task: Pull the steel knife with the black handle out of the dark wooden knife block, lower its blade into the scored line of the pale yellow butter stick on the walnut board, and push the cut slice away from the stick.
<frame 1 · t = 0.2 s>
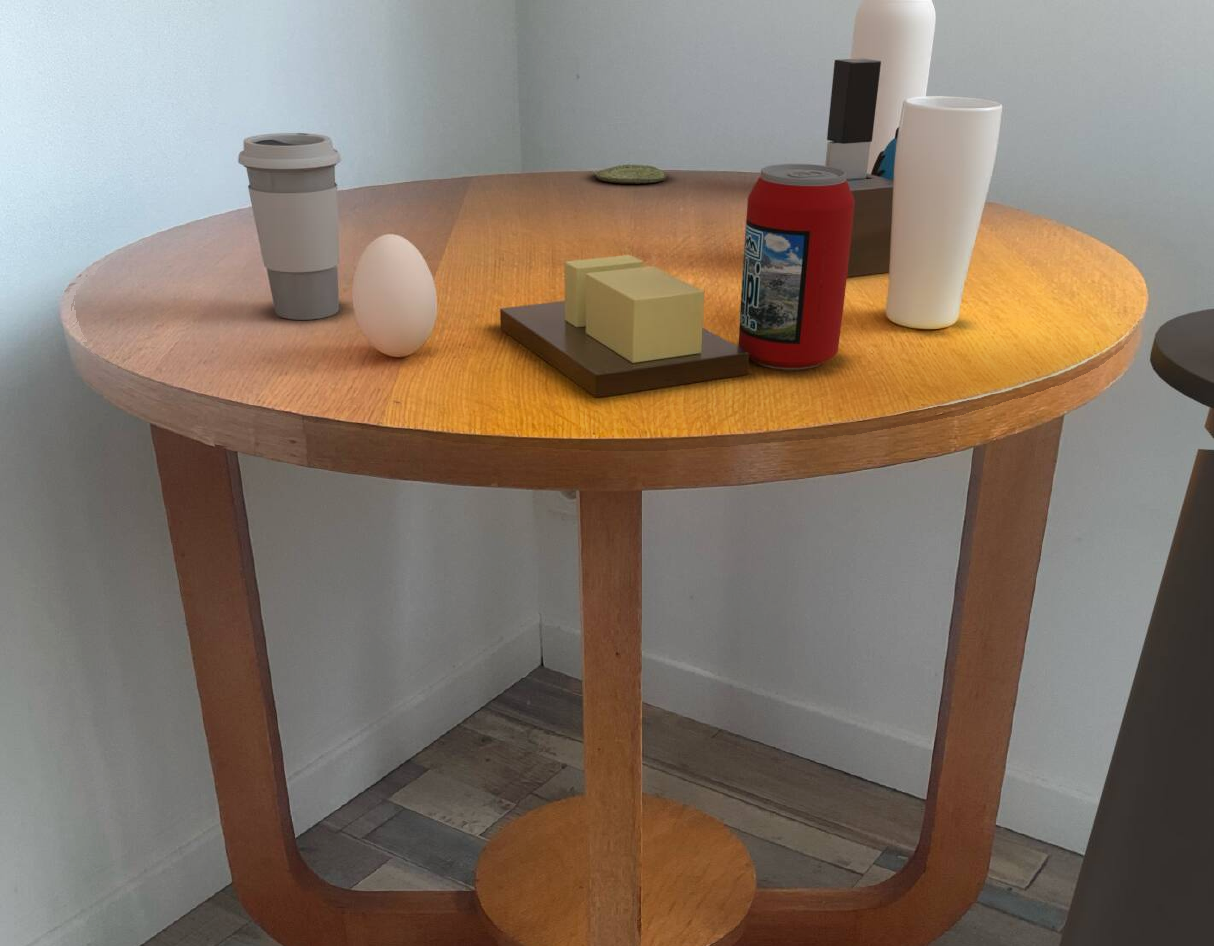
knife block: (836, 264, 104), on the table
medallion: (630, 179, 138), on the table
knife: (846, 166, 100), in the knife block
bottle: (874, 196, 131), on the table
ornament: (884, 245, 112), on the table
drinking glass: (920, 323, 90), on the table
cup: (307, 313, 90), on the table
beverage can: (786, 361, 82), on the table
egg: (399, 358, 81), on the table
board: (618, 350, 83), on the table
butter block: (642, 343, 79), point 1 cm above the table, touching board
butter slice: (603, 319, 84), point 1 cm above the table, touching board
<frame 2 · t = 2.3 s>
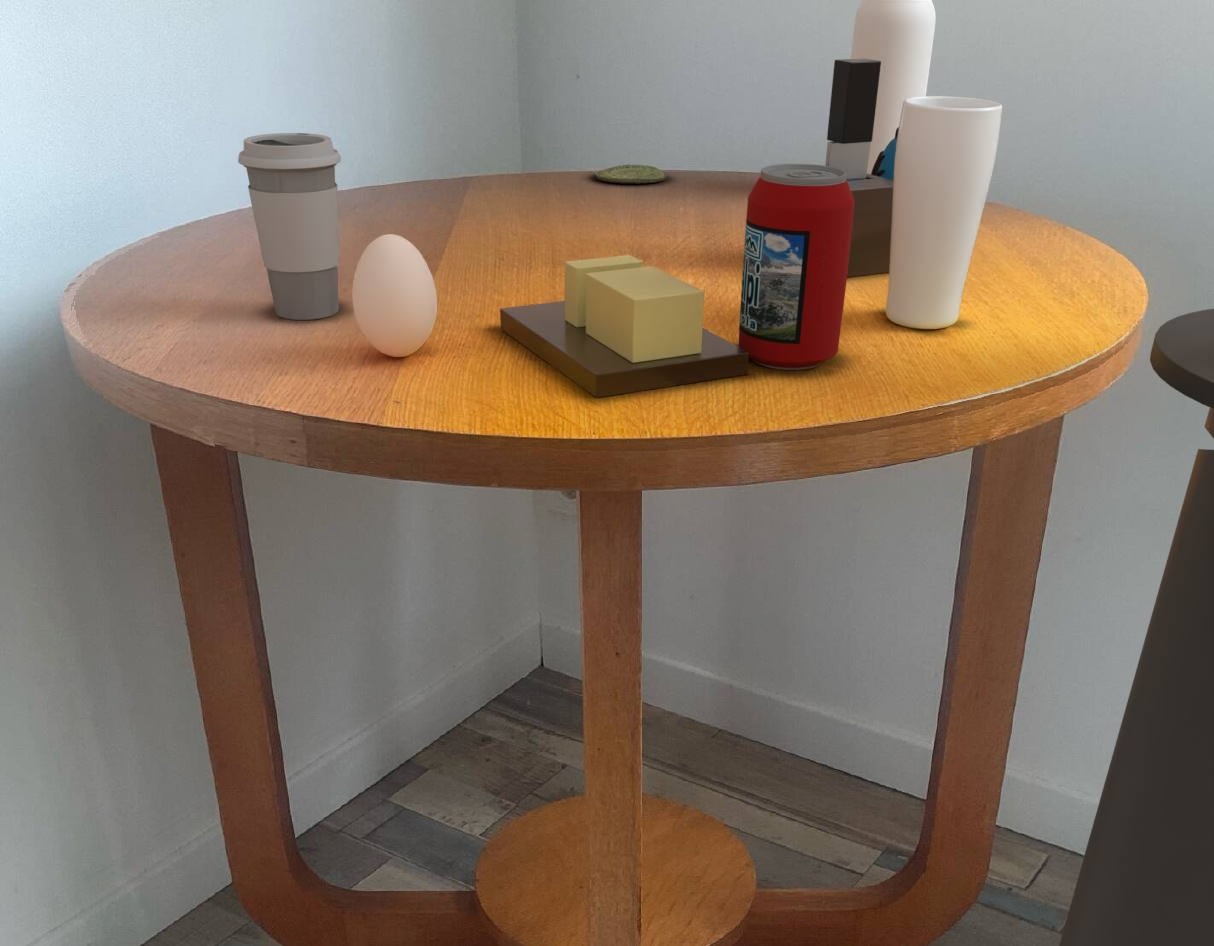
nothing on the table moved.
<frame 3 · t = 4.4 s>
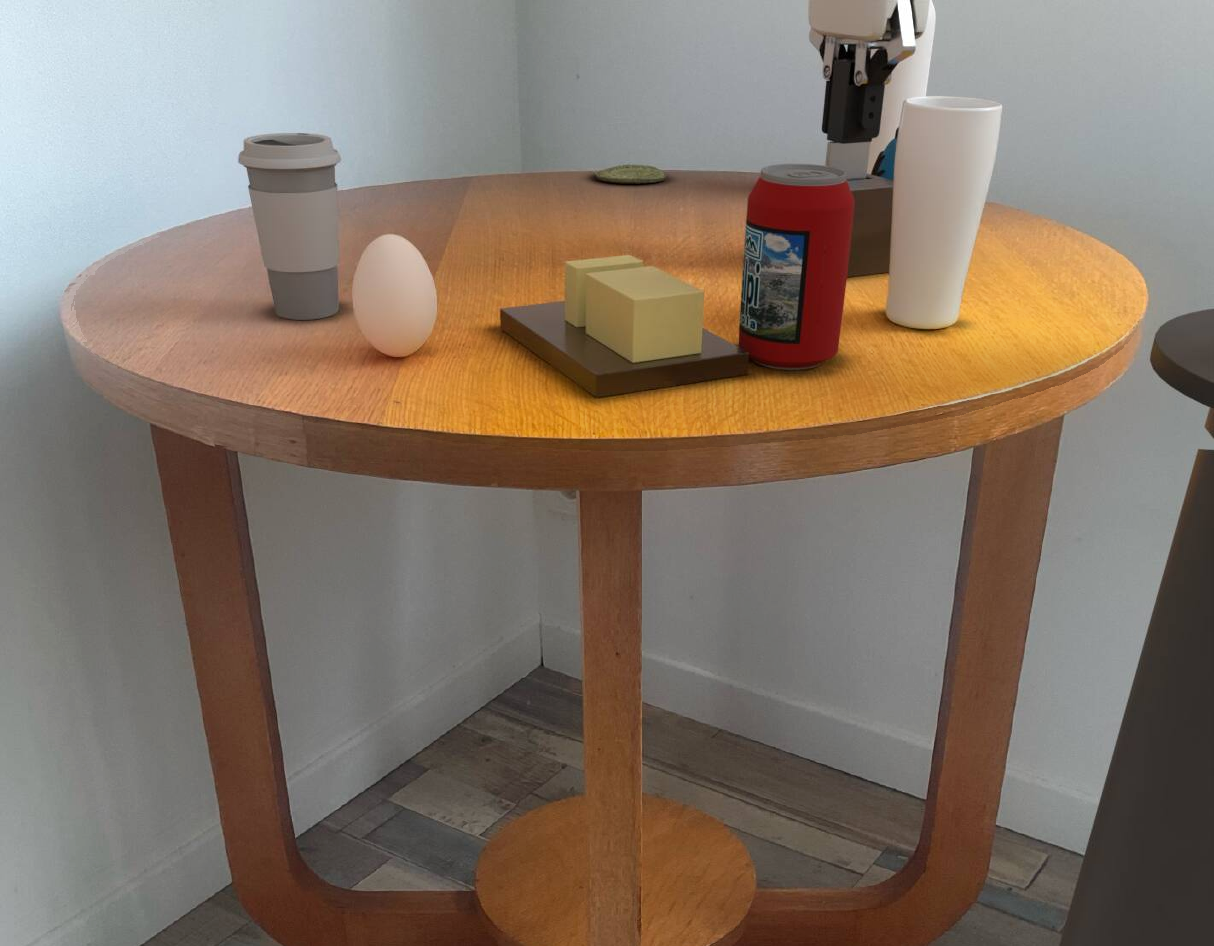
hand: (849, 133, 99), 11 cm above the table, tool pointing down, fingers closed on knife, 2 cm apart
knife: (846, 166, 100), in the knife block, touching gripper
everything else where it was.
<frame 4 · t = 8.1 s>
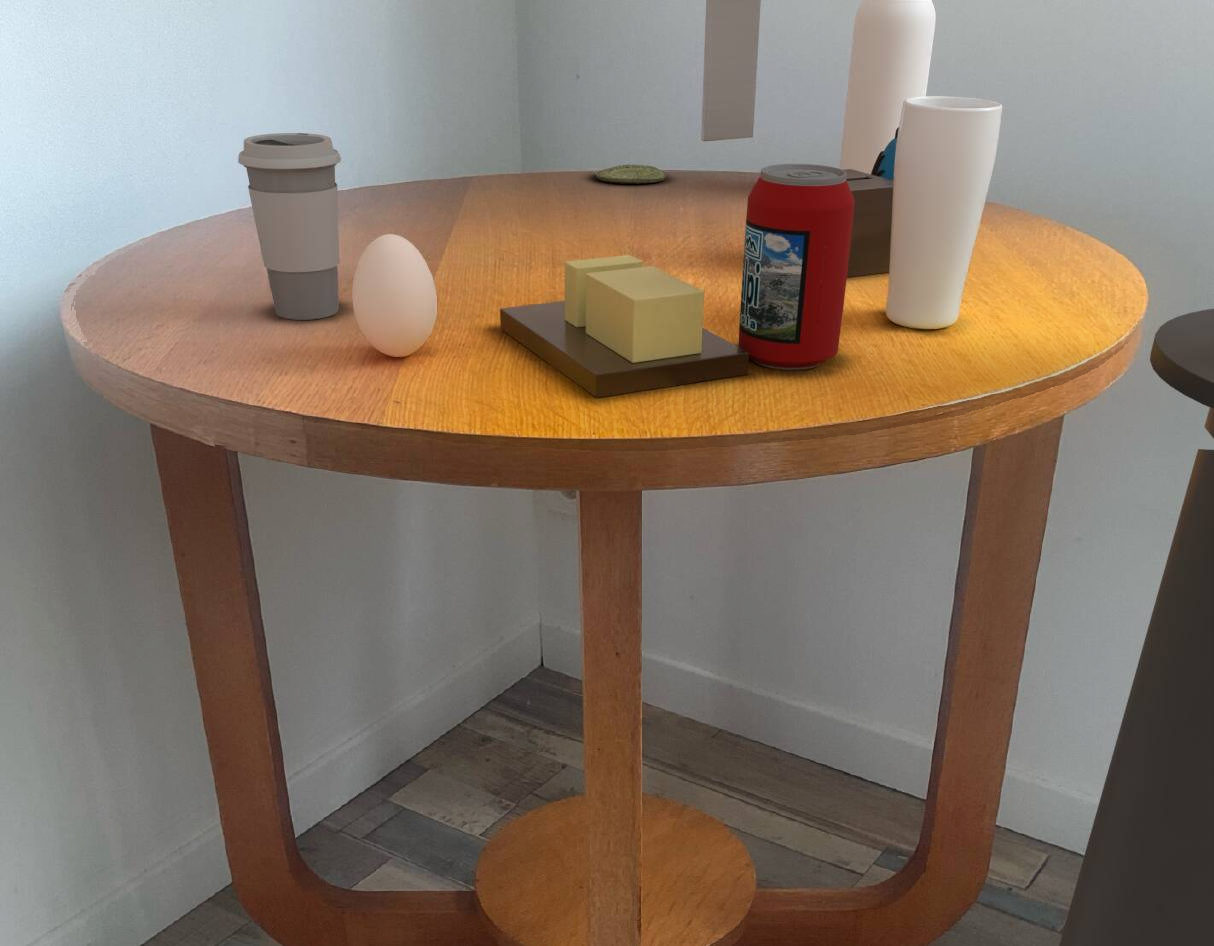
knife: (733, 12, 81), point 20 cm above the table, touching gripper
everything else where it was.
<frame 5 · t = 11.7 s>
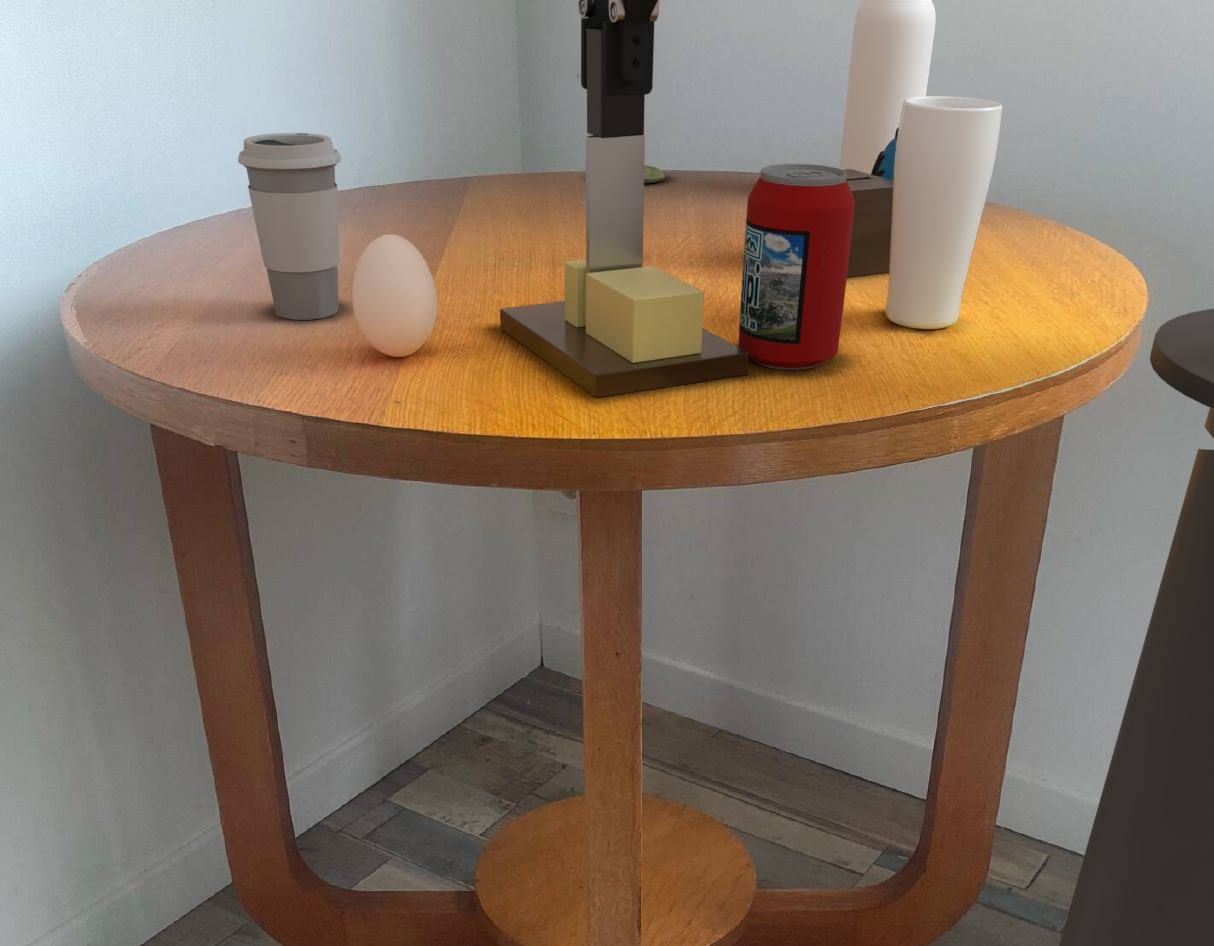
hand: (616, 88, 75), 16 cm above the table, tool pointing down, fingers closed on knife, 2 cm apart
knife: (615, 167, 77), point 12 cm above the table, touching gripper
everything else where it was.
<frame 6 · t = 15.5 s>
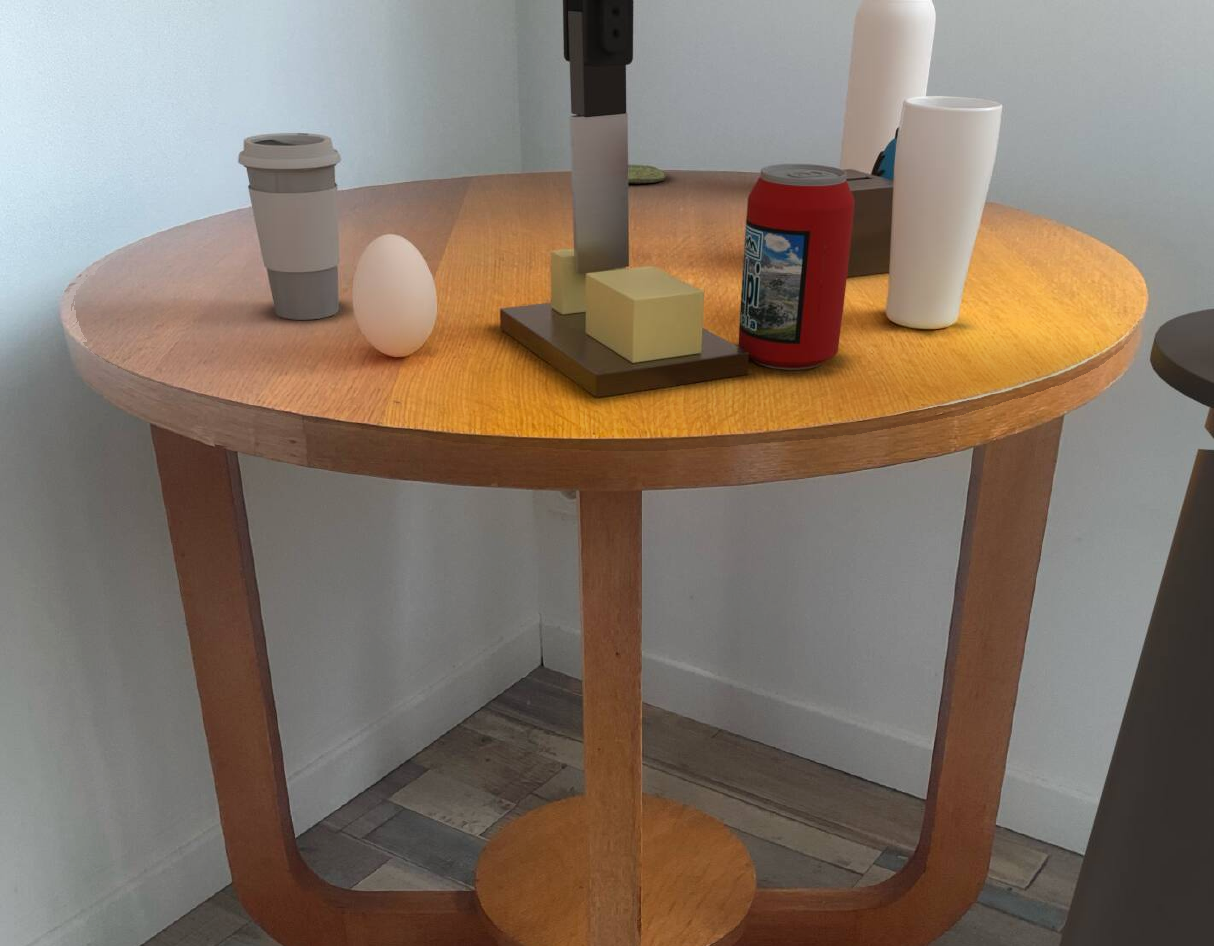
hand: (598, 60, 77), 18 cm above the table, tool pointing down, fingers closed on knife, 2 cm apart
knife: (599, 146, 79), point 12 cm above the table, touching gripper
butter slice: (588, 307, 86), point 1 cm above the table, touching board
everything else where it was.
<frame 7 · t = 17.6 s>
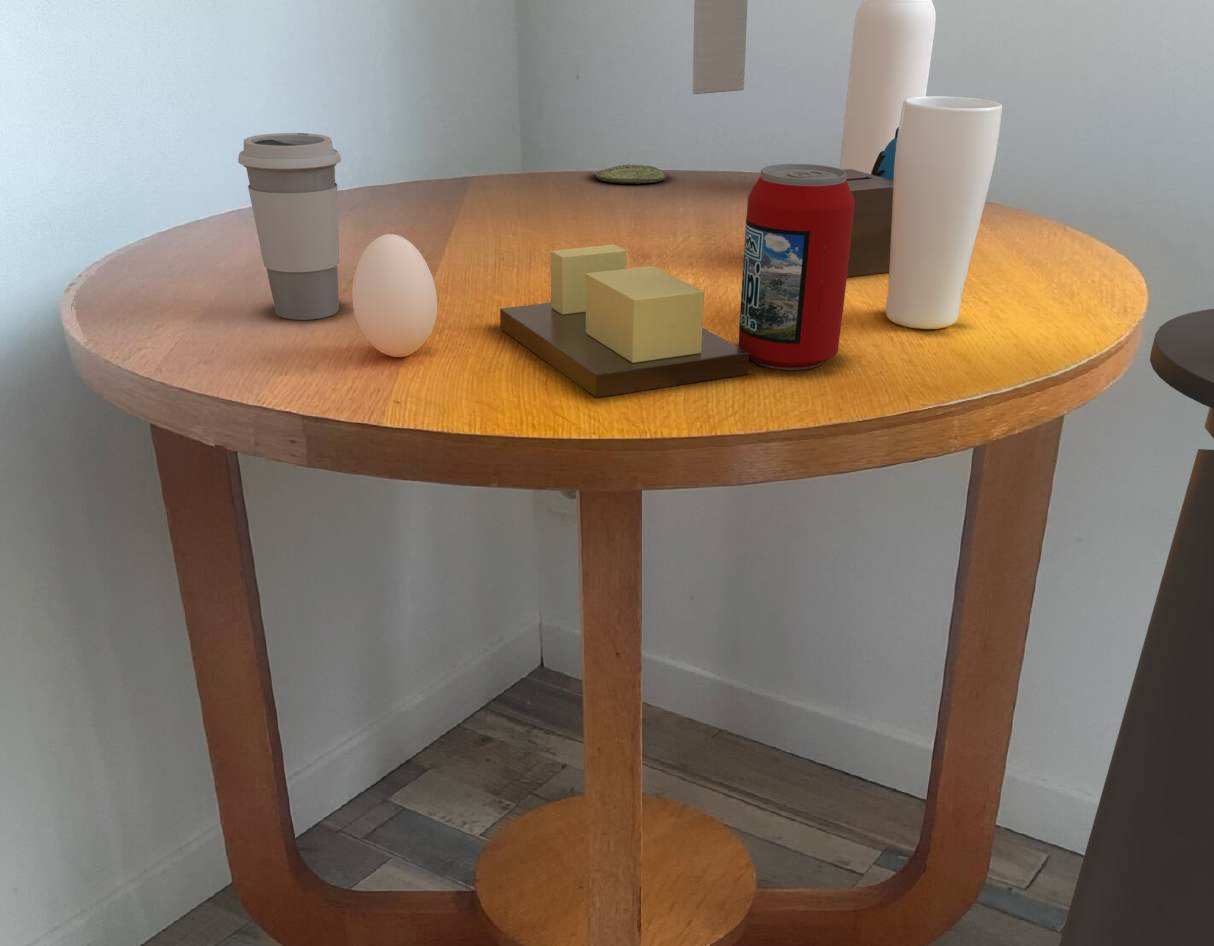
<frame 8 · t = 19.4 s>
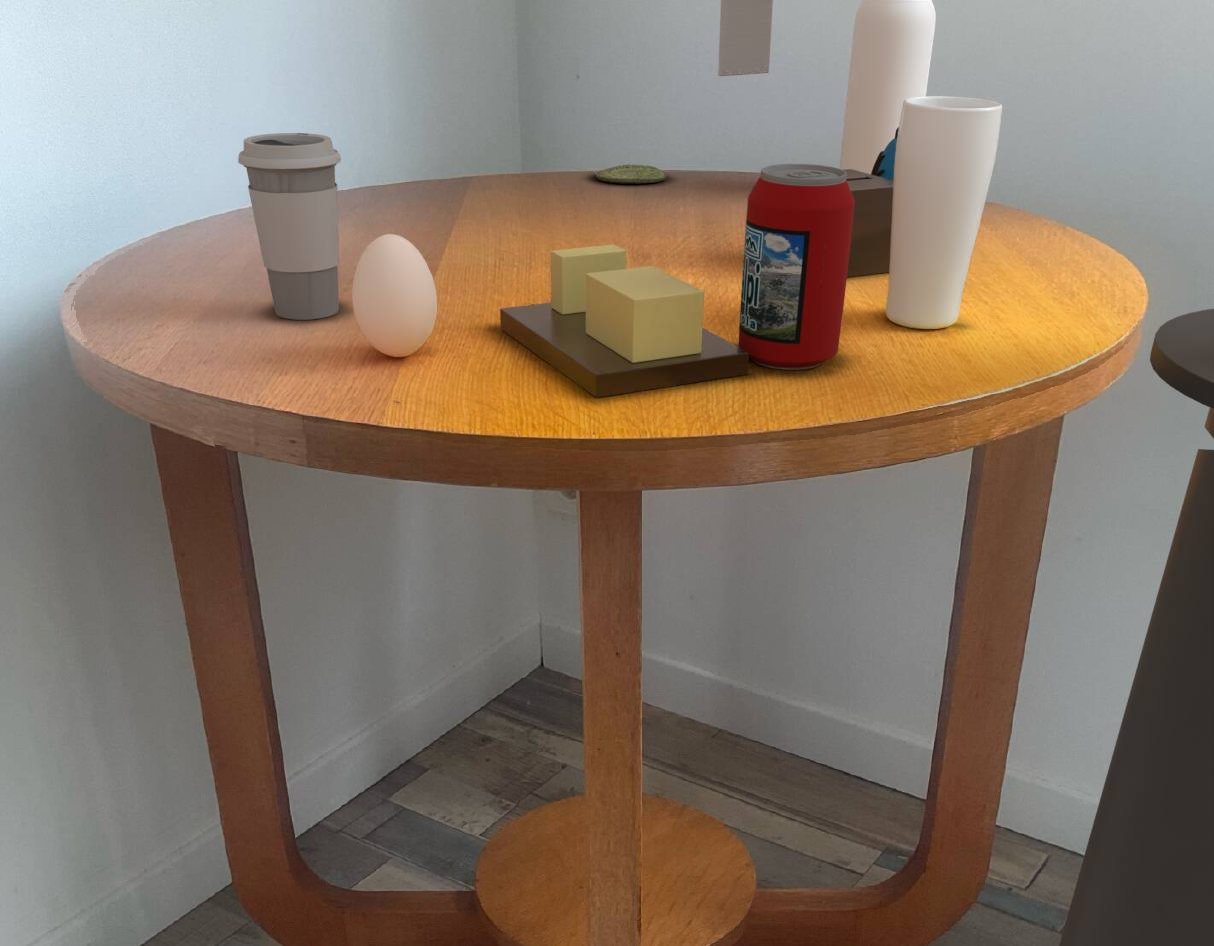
at the end: butter slice 0.6 cm from the target spot on the board, point 1.5 cm above the board's base; butter block moved 0.0 cm from its start; the gripper is holding knife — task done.
